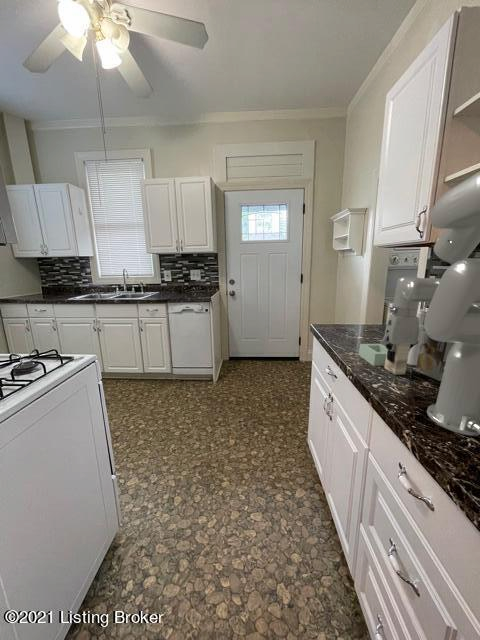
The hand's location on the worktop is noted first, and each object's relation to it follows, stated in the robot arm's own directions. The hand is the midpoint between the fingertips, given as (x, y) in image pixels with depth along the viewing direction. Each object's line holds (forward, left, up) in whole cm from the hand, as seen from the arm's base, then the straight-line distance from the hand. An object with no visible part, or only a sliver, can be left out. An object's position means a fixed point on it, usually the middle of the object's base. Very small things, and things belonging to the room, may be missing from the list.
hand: (396, 360), depth 98 cm
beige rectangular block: (0, 0, -4) cm, 4 cm away
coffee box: (-3, -13, -5) cm, 14 cm away
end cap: (+11, 0, -5) cm, 12 cm away
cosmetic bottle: (+8, -13, -5) cm, 16 cm away
